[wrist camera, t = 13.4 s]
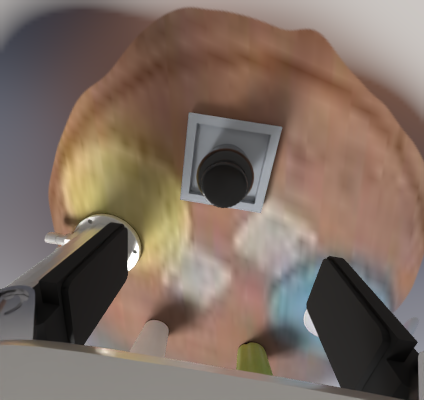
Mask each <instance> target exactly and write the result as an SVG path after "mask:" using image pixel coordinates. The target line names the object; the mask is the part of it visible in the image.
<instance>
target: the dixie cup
mask: <svg viewBox="0 0 424 400" xmlns="http://www.w3.org/2000/svg"><path fill="white" fill-rule="evenodd" d="M168 333H169V329H168V327H167V325H166V324H164V323H163V322H161V321H158V320H150V321H148V322H146V323H145V325H144V327H143V329H142V330H141V332H140V334H139V336H138V337H137V339H136V341H135V343H134V344H133V346H132V348H131V350H130V351H129V352H132V353H138V354H144V355H150V356H156V357H162V358H165V352H166V346H167V339H168Z"/></svg>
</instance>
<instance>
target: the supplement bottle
mask: <svg viewBox="0 0 424 400" xmlns="http://www.w3.org/2000/svg"><path fill="white" fill-rule="evenodd" d="M196 180H197V185H198V188H199V190H200V192H201V193H202V194H203V196H204V198H206V200H207V201H208V202H209V203H210V204H213V206H217V207H221V208H228V207H232V206H235V205H236V204H238V203H239V202H240V201H241V200H243V199H244V198H245V197H246V196H247V195H248V194H249V192H250V191H251V189H252V186H253V183H254V170H253V167H252V164H251V162H250V161H249V159H248V157H247V155H246V154H245V153H244V151H243V150H242V149H241V148H239V147H237V146H235V145H233V144H221V145H218V146H216V147H214V148H213V149H212V150H210V151H209V152H208V154H207V155H206V156H205V157H204V158H203V159H202V160H201V162H200V164H199V166H198V169H197V173H196Z"/></svg>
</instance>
